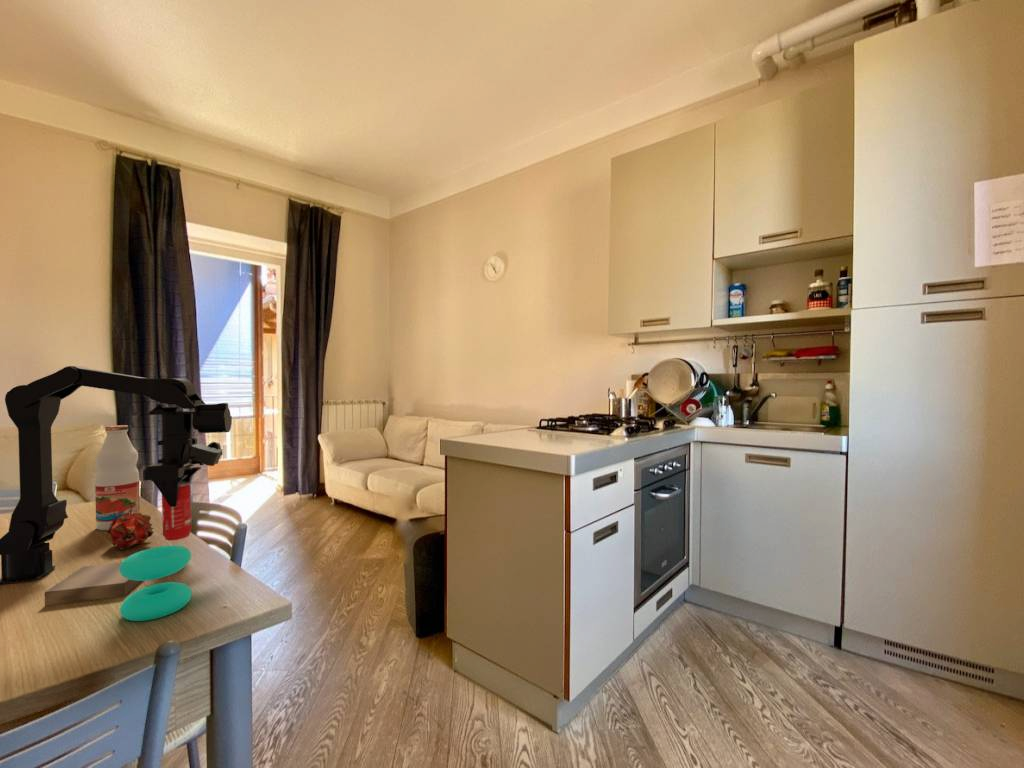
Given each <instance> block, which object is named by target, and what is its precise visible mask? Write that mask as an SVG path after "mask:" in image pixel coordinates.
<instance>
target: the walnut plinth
mask: <svg viewBox="0 0 1024 768" xmlns="http://www.w3.org/2000/svg"><path fill="white" fill-rule="evenodd" d="M122 562H123V561H122ZM122 562H114V563H113V562H112V563H103V564H102V563H101V564H95V565H94V564H93V565H83V566H82V567H81V568H79V569H77V570H76V571H75V572H73V573H71V574H70V575H68V576H66V577H64V579H62V580H61V581H59V582H57V583H55V585H53V586H52V587H50V588H49V589H47V590H45V591H44V606H45V607H46V606H55V605H64V604H70V603H79V602H86V601H93V600H94V601H95V600H103V599H112V598H117V597H118V598H119V597H125V596H127V595H128V594H129V593H130V592H131V591H132V590H133V589H135V588H136V587H137V586H138V585H140V583H141V582H142V581H136V580H130V579H127V578H125V577H123V576H122V575H121V573H120V570H119V568H120V565H121V563H122Z"/></svg>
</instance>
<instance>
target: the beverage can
mask: <svg viewBox="0 0 1024 768" xmlns="http://www.w3.org/2000/svg"><path fill="white" fill-rule="evenodd" d="M191 496H192V495H191V484H190V485H189V482H180V487H179V494H178V500H177V505H176V506H175V507H170V506H169V504H168V503H167V501H166V500H165V498H164V497H163V495H162V494H161V512H162V513H161V515H162V519H161V520H162V536H163V537H164V540H166V541H168V542H169V541H171V542H172V541H179V540H183V539H187V538H188V537H189V536H190V534H191V532H192V505H191V504H192V500H191V499H192V498H191Z"/></svg>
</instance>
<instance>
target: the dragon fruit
mask: <svg viewBox="0 0 1024 768" xmlns="http://www.w3.org/2000/svg"><path fill="white" fill-rule="evenodd" d="M150 520H151V516H150V515H149V514H143V513H142V512H141V511H140V512H135V513H132V514H130V513H125V514H123V515H122V517H121V518H119V519H115V520H114V521H113V522H112V523H111V524H110V528H109V530H107V532H106V537H107V538H108V539H110V541H111V543H112V544H113V546H115V545H116V547H117V548H119V550H126V549H129V548H131V547H132V546H133V545H135V546H136V545H141V544H143V543H145V541H146V540H148V538H150V537H152V536H153V534H154V532H155V531H154V530H153V529H154V527H153V524H152V523H151V522H150Z"/></svg>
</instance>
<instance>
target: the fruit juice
mask: <svg viewBox="0 0 1024 768" xmlns="http://www.w3.org/2000/svg"><path fill="white" fill-rule="evenodd" d="M104 430H105V433H106V436H105V439H104V442H103V444H102V446H101V448H100V450H99V451H98V452H97V454H96V455H95V464H96V467H97V472H96V474H95V480H94V487H95V492H94V493H95V494H94V495H95V496H94V497H95V526H96V529H97V530H99V531H108V530H109V528H110V524H111V523H112V522H113V521H114V520H115V519H119V518H121V517H122V515H123V514H125V513H130V514H132V513H135V512H140V513H141V509H140V508H141V501H140V500H141V499H140V497H141V496H140V473H139V472H140V471H139V469H138V467H137V463H138V461H139V452H138V450H137V449H136V448H135V447H134V446H133V444H132V442H131V440H130V438H129V436H128V432H129V425H126V424H122V425H121V424H120V425H119V424H118V425H117V424H116V425H108V426H105V429H104Z"/></svg>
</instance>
